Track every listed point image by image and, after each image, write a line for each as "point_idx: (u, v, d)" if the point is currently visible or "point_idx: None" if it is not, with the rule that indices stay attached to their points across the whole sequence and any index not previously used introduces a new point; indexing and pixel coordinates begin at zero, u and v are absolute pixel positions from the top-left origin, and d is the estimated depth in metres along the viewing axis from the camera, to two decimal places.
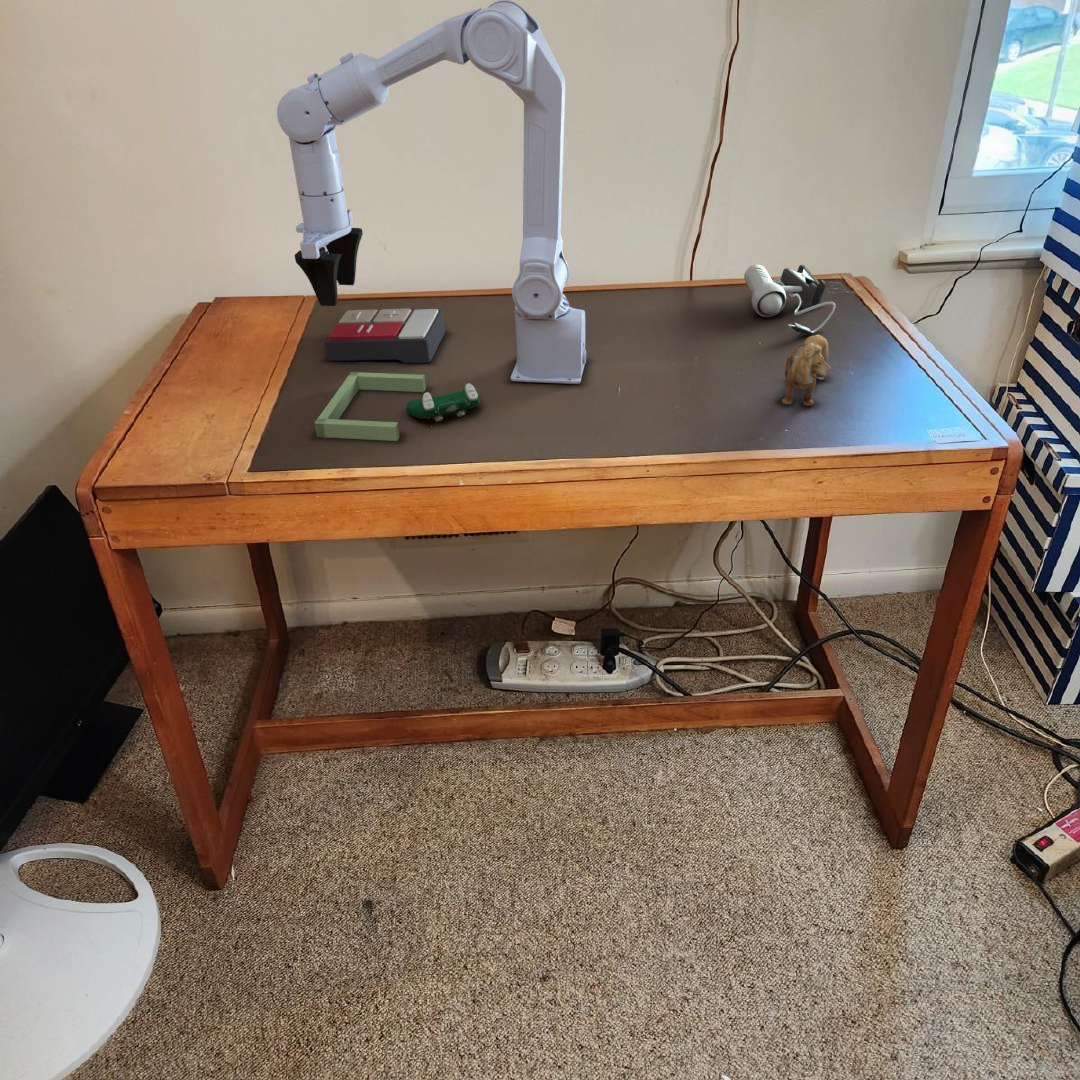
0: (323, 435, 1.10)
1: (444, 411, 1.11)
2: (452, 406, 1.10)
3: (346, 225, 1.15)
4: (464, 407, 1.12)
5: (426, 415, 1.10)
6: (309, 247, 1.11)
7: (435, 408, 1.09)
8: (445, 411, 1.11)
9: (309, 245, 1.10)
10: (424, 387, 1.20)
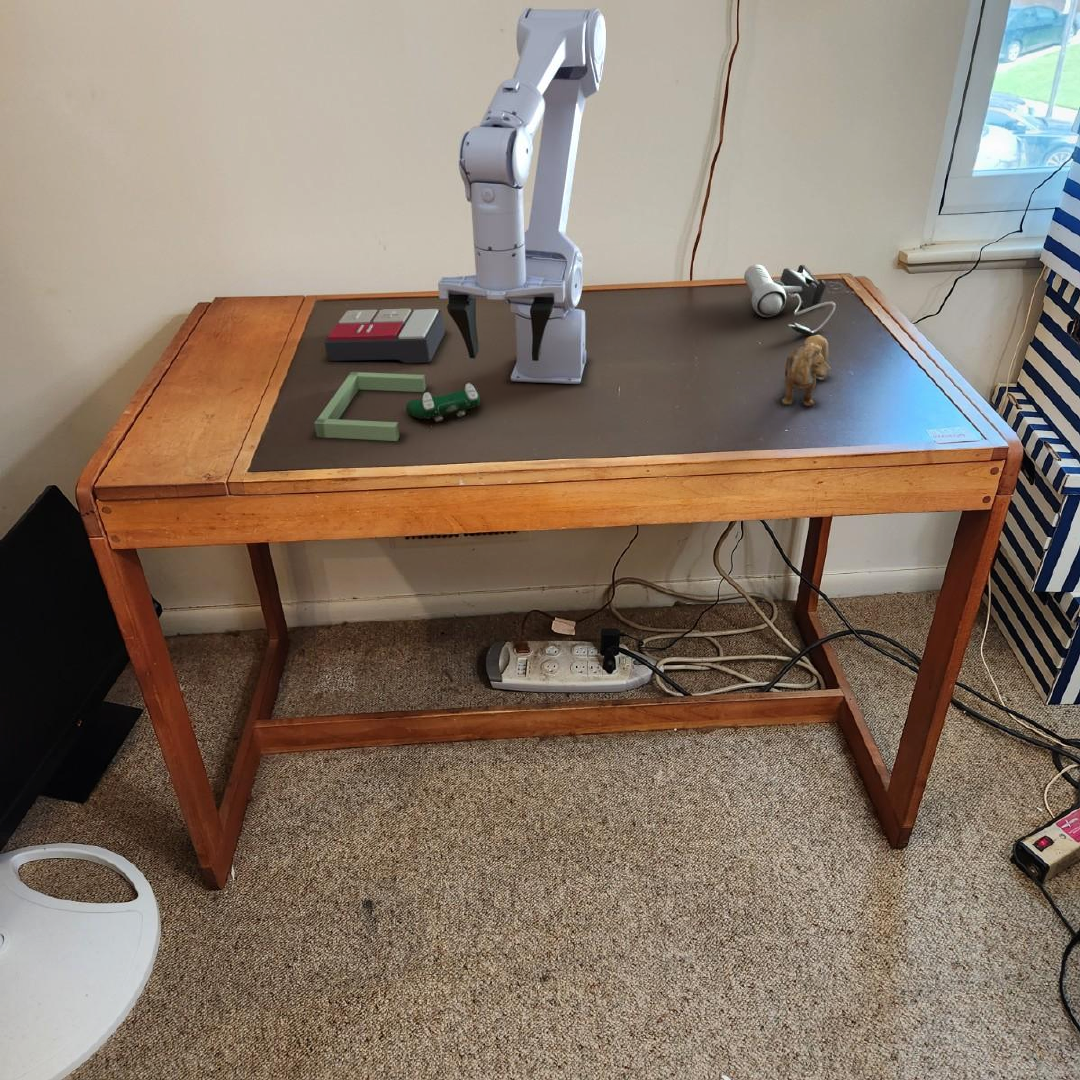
0: (323, 435, 1.10)
1: (444, 411, 1.11)
2: (452, 406, 1.10)
3: None
4: (464, 407, 1.12)
5: (426, 415, 1.10)
6: (564, 287, 1.02)
7: (435, 408, 1.09)
8: (445, 411, 1.11)
9: (564, 284, 1.02)
10: (424, 387, 1.20)
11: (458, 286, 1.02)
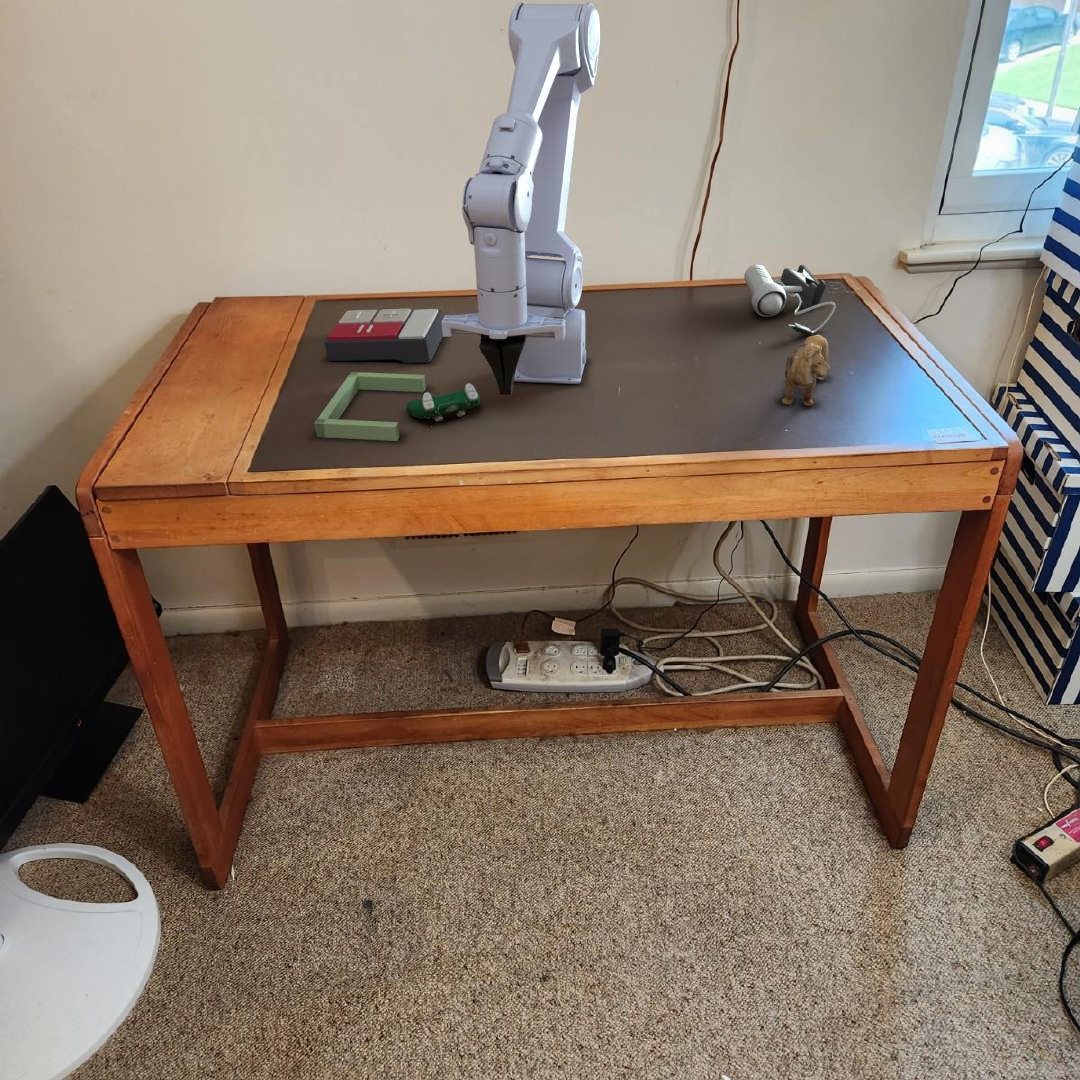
0: (323, 435, 1.10)
1: (444, 411, 1.11)
2: (452, 406, 1.10)
3: None
4: (464, 407, 1.12)
5: (426, 415, 1.10)
6: (564, 325, 1.05)
7: (435, 408, 1.09)
8: (445, 411, 1.11)
9: (564, 323, 1.05)
10: (424, 387, 1.20)
11: (461, 325, 1.05)
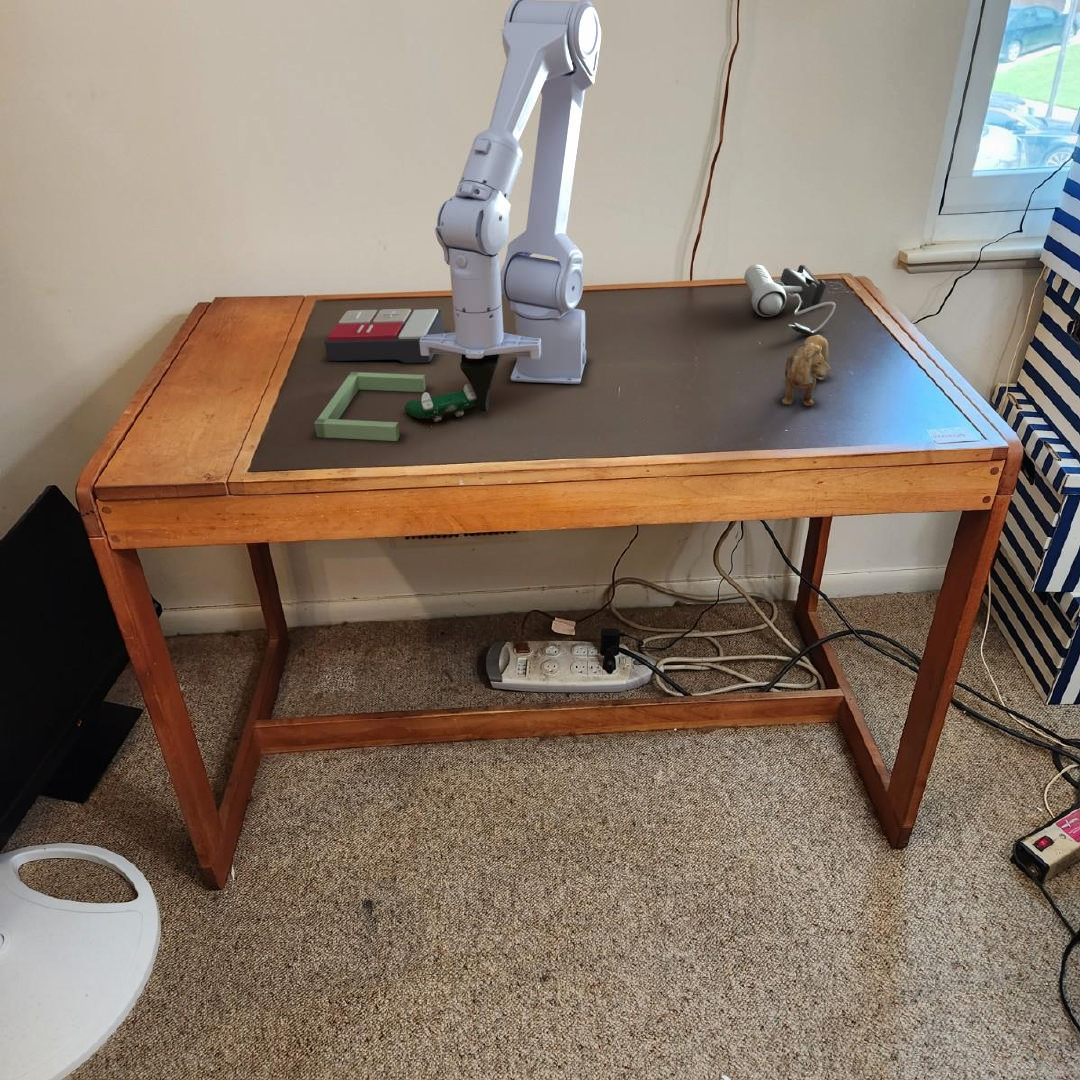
0: (323, 435, 1.10)
1: (442, 411, 1.11)
2: (451, 406, 1.10)
3: None
4: (463, 407, 1.12)
5: (425, 415, 1.10)
6: (540, 344, 1.07)
7: (434, 408, 1.09)
8: (444, 411, 1.11)
9: (540, 342, 1.07)
10: (424, 387, 1.20)
11: (438, 344, 1.07)
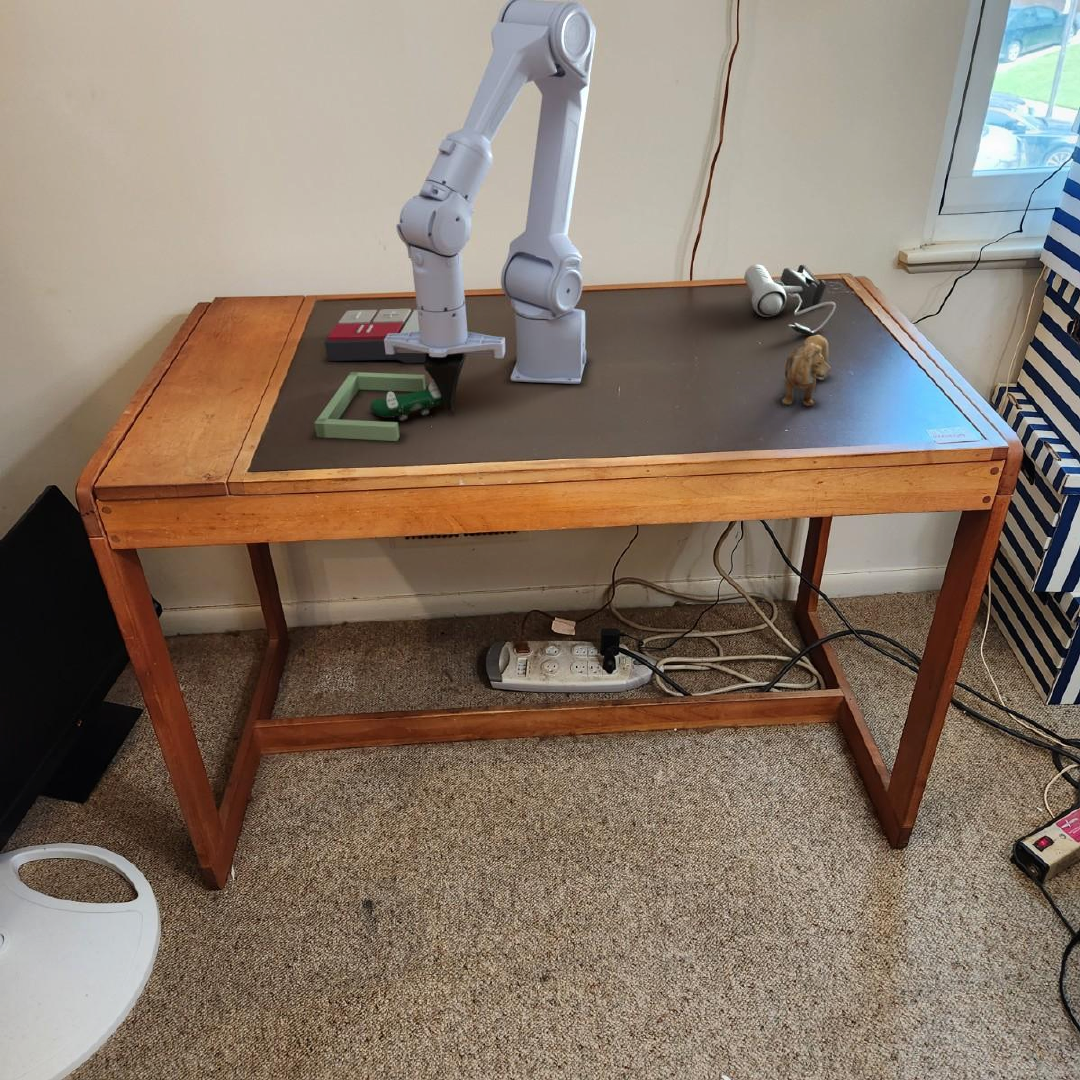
0: (323, 435, 1.10)
1: (408, 410, 1.11)
2: (416, 405, 1.11)
3: None
4: (428, 406, 1.12)
5: (390, 414, 1.11)
6: (503, 343, 1.07)
7: (399, 407, 1.10)
8: (409, 410, 1.11)
9: (503, 341, 1.07)
10: (424, 387, 1.20)
11: (403, 343, 1.07)
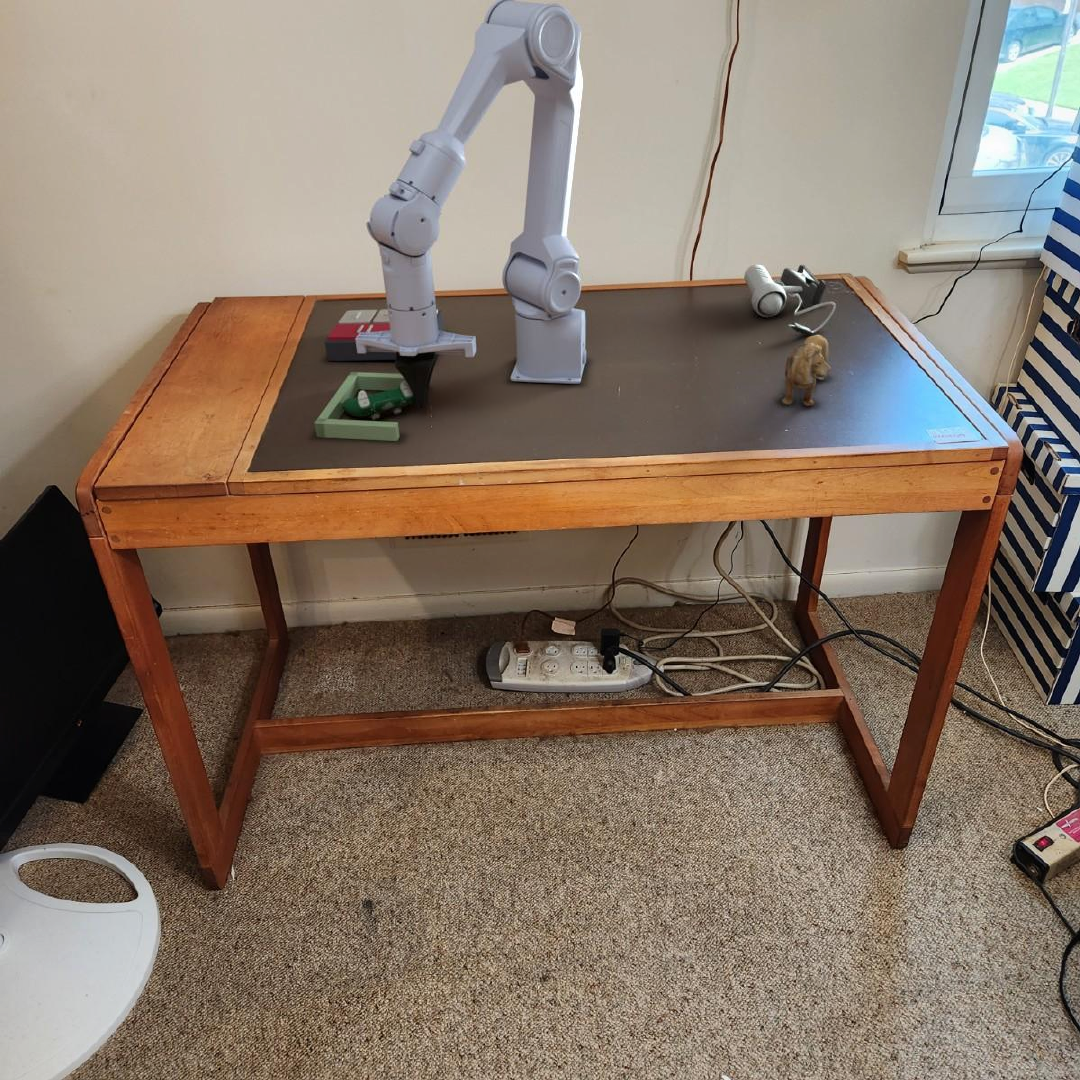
0: (323, 435, 1.10)
1: (380, 409, 1.12)
2: (388, 404, 1.11)
3: None
4: (400, 404, 1.13)
5: (362, 413, 1.11)
6: (474, 342, 1.08)
7: (371, 406, 1.10)
8: (381, 409, 1.12)
9: (474, 340, 1.08)
10: None
11: (374, 342, 1.08)
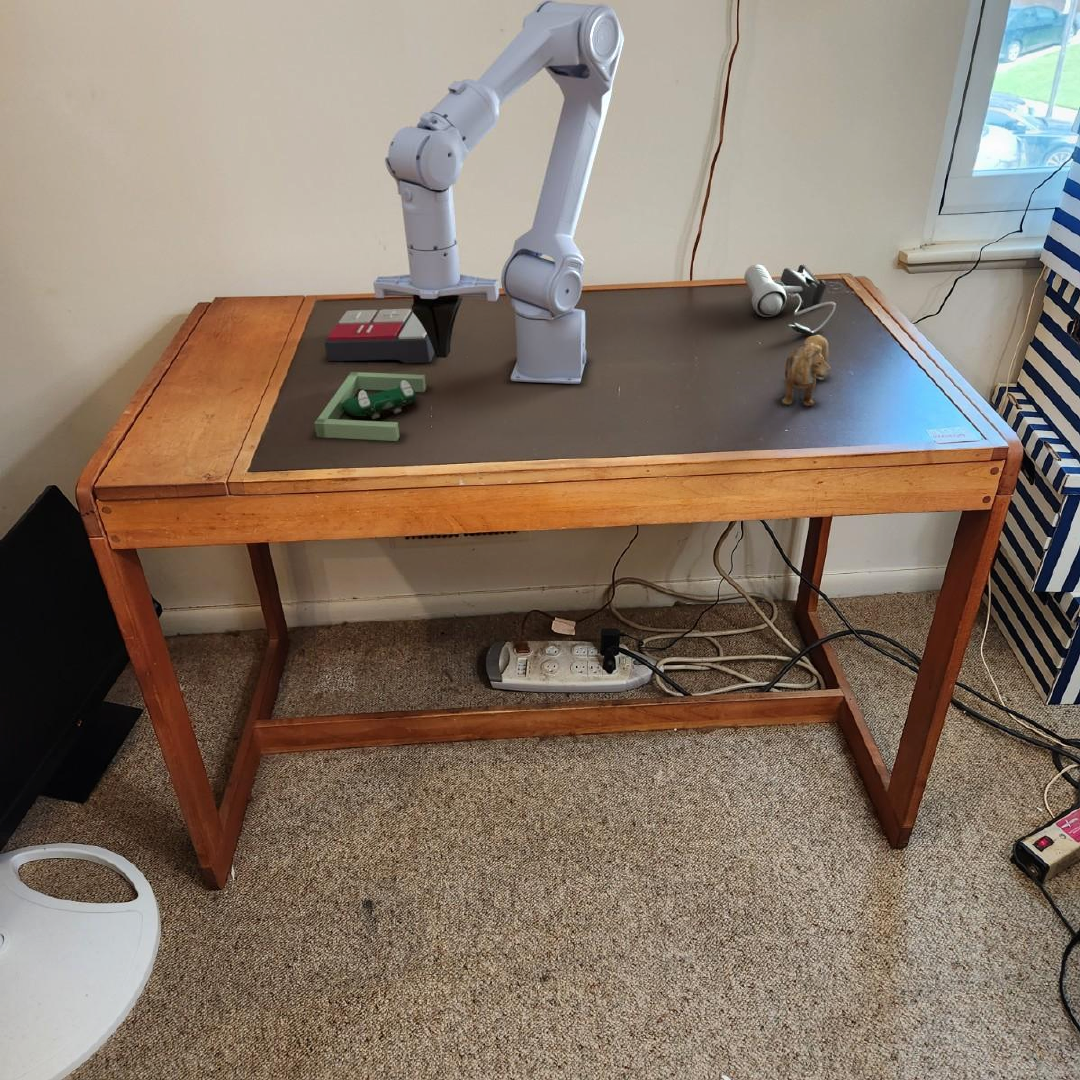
0: (323, 435, 1.10)
1: (380, 408, 1.12)
2: (388, 403, 1.11)
3: None
4: (400, 404, 1.13)
5: (362, 413, 1.11)
6: (497, 285, 1.04)
7: (371, 406, 1.10)
8: (381, 408, 1.12)
9: (497, 283, 1.04)
10: (424, 387, 1.20)
11: (392, 285, 1.04)
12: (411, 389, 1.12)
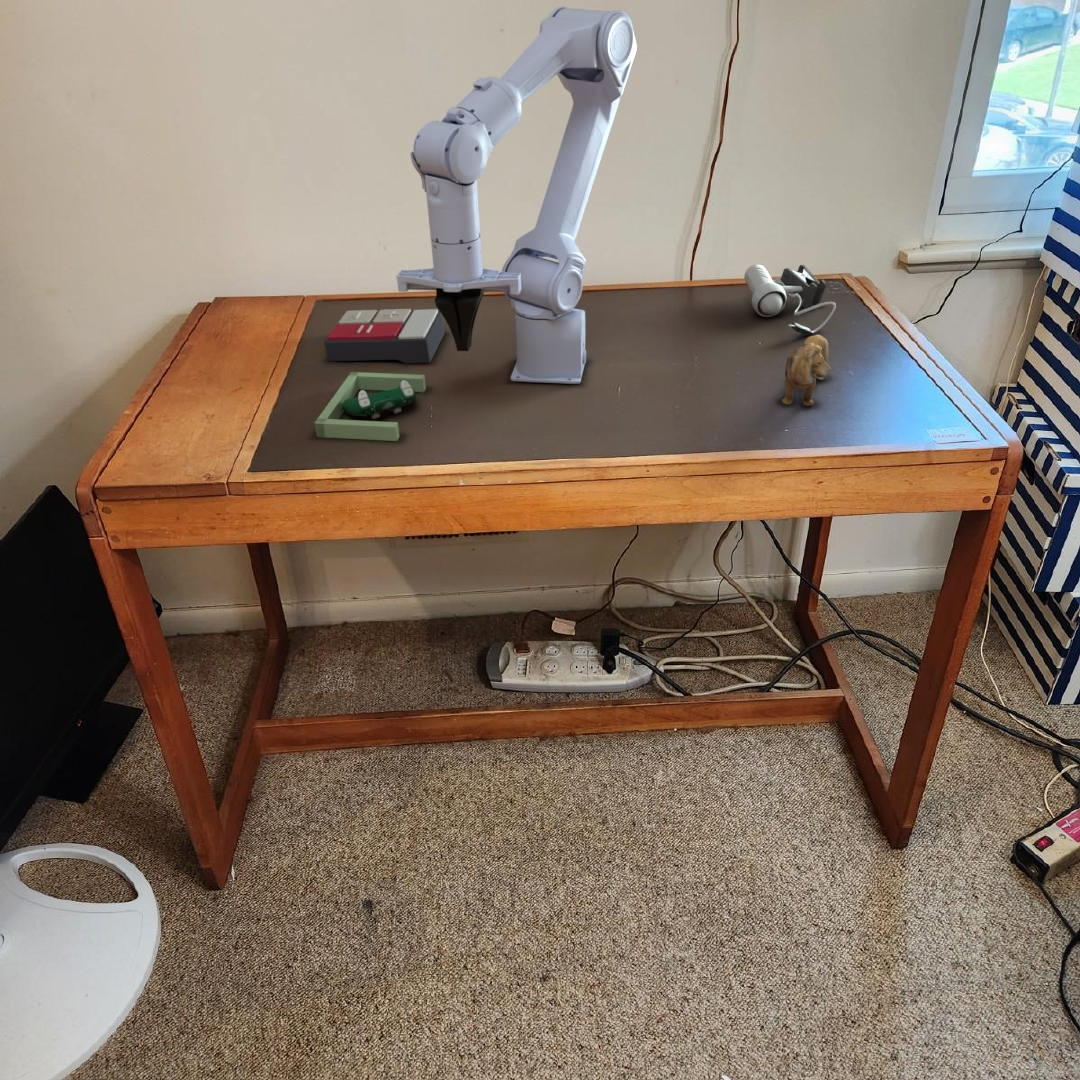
0: (323, 435, 1.10)
1: (380, 408, 1.12)
2: (388, 403, 1.11)
3: None
4: (400, 404, 1.13)
5: (362, 413, 1.11)
6: (519, 279, 1.04)
7: (371, 406, 1.10)
8: (381, 408, 1.12)
9: (519, 277, 1.04)
10: (424, 387, 1.20)
11: (416, 279, 1.04)
12: (411, 389, 1.12)
